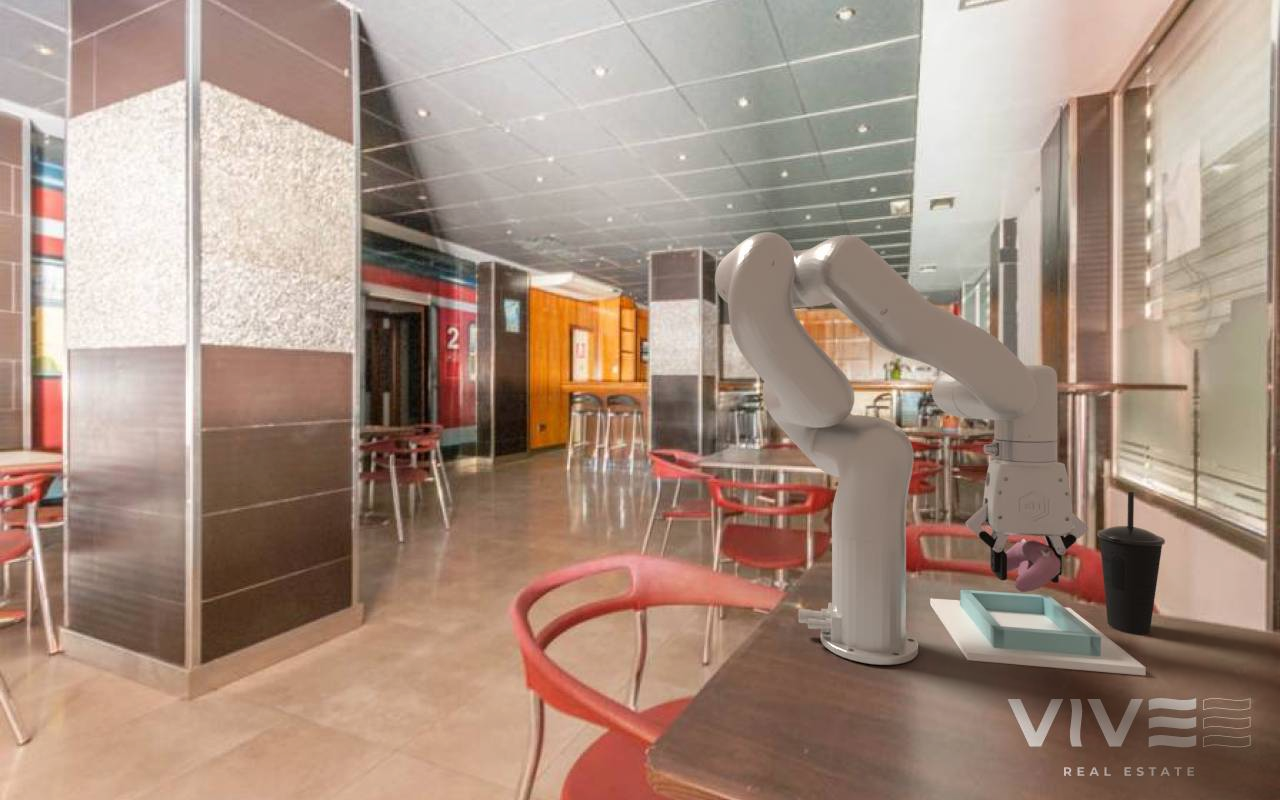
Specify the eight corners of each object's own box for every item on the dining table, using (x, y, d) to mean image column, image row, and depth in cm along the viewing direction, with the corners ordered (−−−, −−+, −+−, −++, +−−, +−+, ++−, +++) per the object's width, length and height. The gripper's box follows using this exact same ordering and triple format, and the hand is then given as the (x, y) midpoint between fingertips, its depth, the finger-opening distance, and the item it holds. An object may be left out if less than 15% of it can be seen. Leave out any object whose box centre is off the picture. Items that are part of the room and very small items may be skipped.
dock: (967, 660, 79) (967, 633, 79) (930, 604, 98) (930, 583, 98) (1145, 675, 74) (1146, 647, 74) (1069, 614, 94) (1069, 591, 94)
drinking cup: (1173, 642, 83) (1176, 498, 83) (1107, 634, 86) (1109, 495, 86) (1149, 621, 91) (1151, 489, 90) (1088, 614, 93) (1090, 486, 93)
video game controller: (1047, 605, 81) (1074, 560, 80) (1014, 589, 82) (1039, 544, 81) (1017, 581, 91) (1040, 540, 90) (987, 567, 91) (1010, 526, 91)
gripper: (966, 455, 84) (967, 584, 84) (1109, 456, 80) (1108, 591, 80) (951, 449, 91) (952, 567, 92) (1081, 449, 87) (1081, 573, 88)
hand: (1025, 577), depth 86 cm, fingers closed on video game controller, 5 cm apart
